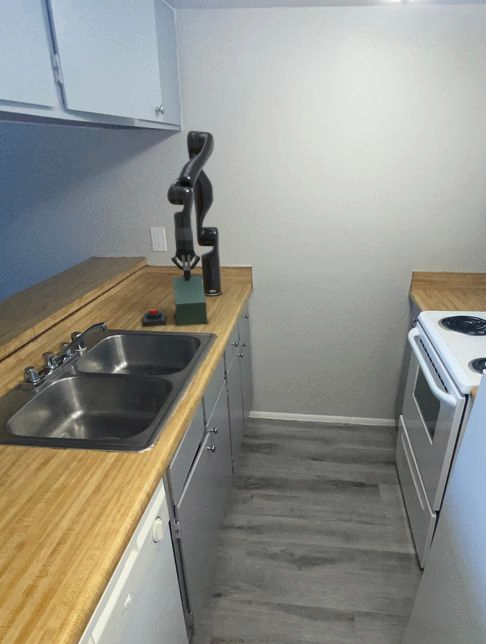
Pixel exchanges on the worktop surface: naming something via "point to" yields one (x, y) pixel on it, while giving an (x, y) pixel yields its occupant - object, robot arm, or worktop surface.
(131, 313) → the worktop surface
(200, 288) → the lid
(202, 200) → the robot arm
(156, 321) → the button block
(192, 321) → the chest
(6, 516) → the worktop surface
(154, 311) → the button
